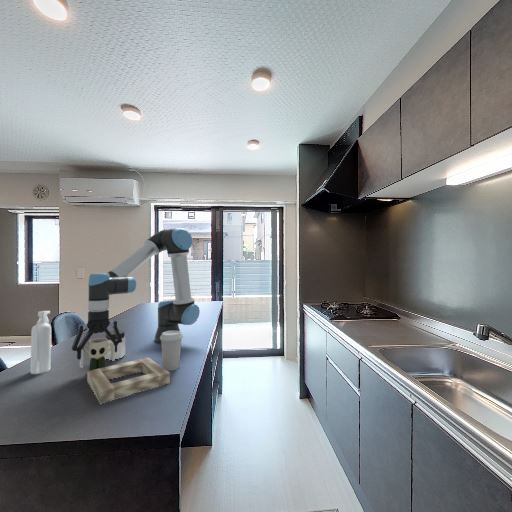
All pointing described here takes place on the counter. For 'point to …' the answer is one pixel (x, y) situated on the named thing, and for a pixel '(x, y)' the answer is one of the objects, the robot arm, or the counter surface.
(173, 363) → the coffee cup
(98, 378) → the well block
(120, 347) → the jar
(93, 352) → the character mug
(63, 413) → the counter surface
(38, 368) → the white pump bottle
